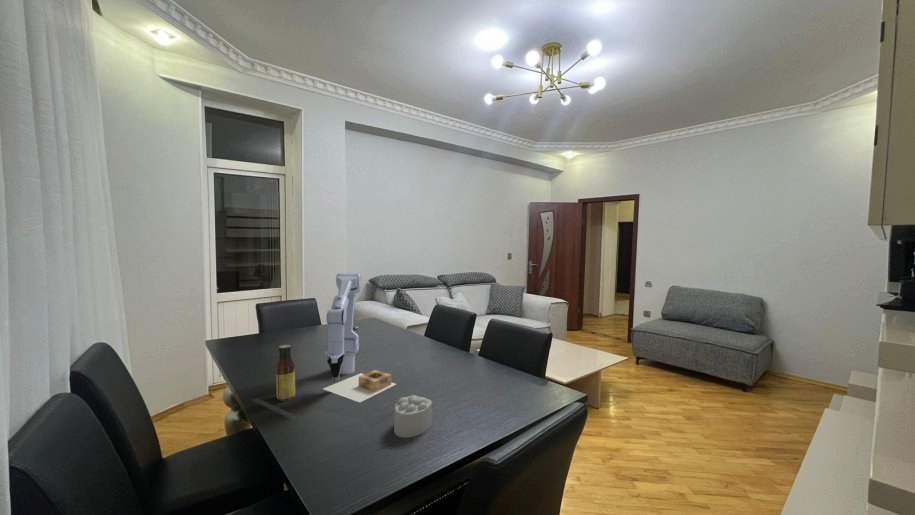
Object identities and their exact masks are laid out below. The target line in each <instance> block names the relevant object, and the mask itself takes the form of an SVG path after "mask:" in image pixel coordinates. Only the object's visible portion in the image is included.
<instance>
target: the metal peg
mask: <svg viewBox="0 0 915 515" xmlns="http://www.w3.org/2000/svg"><path fill="white" fill-rule="evenodd" d="M340 375H341V374H340V371H339V376H338V377H334V378H333V377H332V376H331V383H332V382H333V383H338V382H340V377H341V376H340Z"/></svg>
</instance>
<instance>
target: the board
mask: <svg viewBox="0 0 915 515" xmlns="http://www.w3.org/2000/svg"><path fill="white" fill-rule="evenodd" d="M364 374H365V373H358V374H356V375H353V376H351V377H347V378H345V379H343V380H341V381H338V382H335V383H334V384H331V385H328V386H327V387H324V388H322V390H325V391H326V392H330V393H333V394H335V395H338V396H340V397H343V398H346V399H349V400H351V401H354V402H356V403H362V402H364V401H366V400H367V399H370V398H372V397H374V396H375V395H378V394H380V393H383V392H384V391H386V390H388V389H390V388H392V387H394V386H396V385H397V383H395V382H392V381H391V385H389V386H387V387H385V388H383V389H381V390H379V391H377V392H374V391H371V390H368V389H364V388H361V387H359V376H361V375H364Z"/></svg>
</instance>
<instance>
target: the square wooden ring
mask: <svg viewBox="0 0 915 515" xmlns="http://www.w3.org/2000/svg"><path fill="white" fill-rule="evenodd" d="M363 374H364V375H361V376H359V387H361V388H364V389H368V390H371V391H374V392H377V391H379V390H381V389H383V388H385V387H387V386H389V385H391V382H392V374H391V373H389V372H388V373H387V372H383V371H380V370H376V369H374V370H372V371H369V372H366V373H363Z"/></svg>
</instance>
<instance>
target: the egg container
mask: <svg viewBox="0 0 915 515" xmlns="http://www.w3.org/2000/svg"><path fill="white" fill-rule="evenodd" d="M432 405H433V401H432V400H431V399H429V398H426V397H424V396H419V395H415V394H412V395H409V396H405V397H404V396H403V397H400V398H399V399H398V401H397V403H395V405H394V414H393V415H394V417H393V418H394V419H393V421H394V422H393V433H394V434H395V436H397V437H399V438H414V437H416V436H420V435H422V434H424V433H425V432H426V431H427V430H429V428H430V427H431V425H432V410H433V408H432V407H433V406H432Z"/></svg>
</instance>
